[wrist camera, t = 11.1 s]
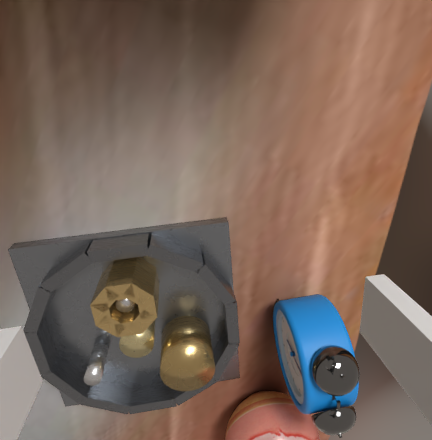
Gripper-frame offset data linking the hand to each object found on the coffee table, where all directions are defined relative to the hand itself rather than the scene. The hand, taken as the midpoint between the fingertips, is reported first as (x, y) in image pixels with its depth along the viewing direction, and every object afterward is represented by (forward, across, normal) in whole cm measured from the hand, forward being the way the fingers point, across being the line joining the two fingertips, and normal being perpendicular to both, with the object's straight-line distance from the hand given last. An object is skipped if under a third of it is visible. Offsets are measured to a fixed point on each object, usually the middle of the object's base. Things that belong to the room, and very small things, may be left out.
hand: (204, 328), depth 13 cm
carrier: (+27, -8, -19) cm, 34 cm away
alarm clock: (+27, +13, -23) cm, 38 cm away
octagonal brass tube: (+25, -8, -13) cm, 29 cm away
